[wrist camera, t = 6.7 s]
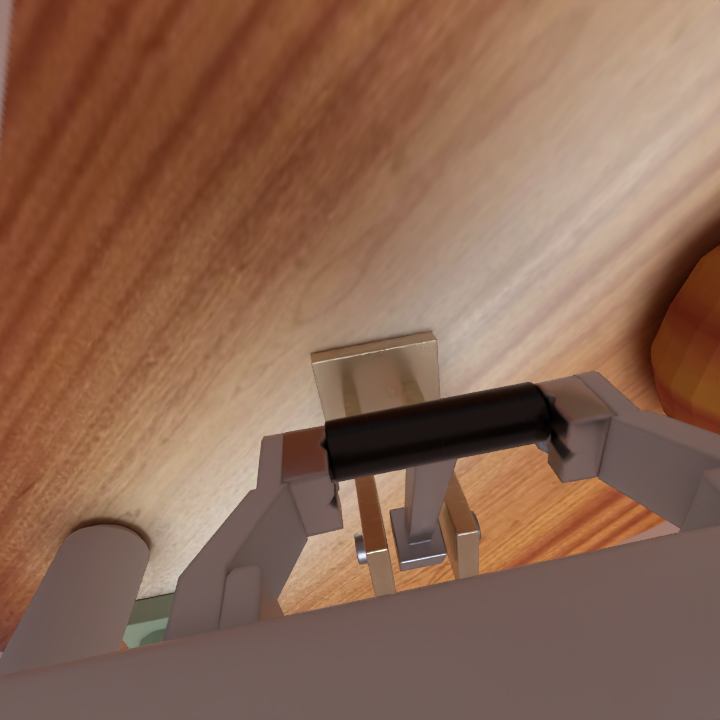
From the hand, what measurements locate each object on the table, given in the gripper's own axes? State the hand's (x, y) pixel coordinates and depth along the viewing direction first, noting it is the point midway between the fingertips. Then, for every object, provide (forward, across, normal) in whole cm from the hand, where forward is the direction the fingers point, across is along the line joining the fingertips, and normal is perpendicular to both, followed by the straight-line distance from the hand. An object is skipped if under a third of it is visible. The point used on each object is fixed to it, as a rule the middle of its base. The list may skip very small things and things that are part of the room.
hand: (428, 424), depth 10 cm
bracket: (+16, 0, +12) cm, 20 cm away
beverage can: (+16, +23, +21) cm, 35 cm away
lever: (+4, 0, +6) cm, 7 cm away
